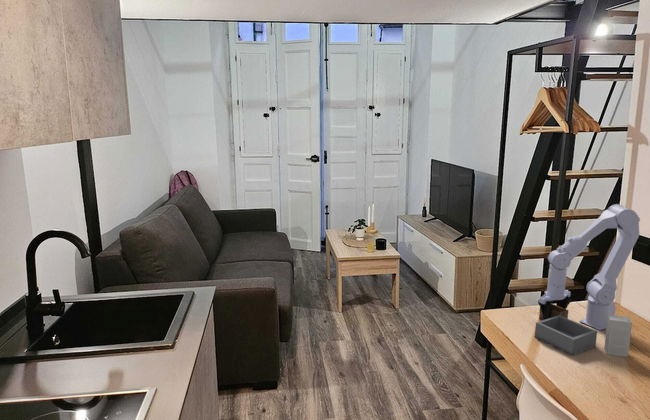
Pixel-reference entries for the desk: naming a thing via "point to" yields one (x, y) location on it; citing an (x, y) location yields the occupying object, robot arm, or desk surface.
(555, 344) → the big crate
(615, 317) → the skincare box
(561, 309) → the small crate
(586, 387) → the desk surface
